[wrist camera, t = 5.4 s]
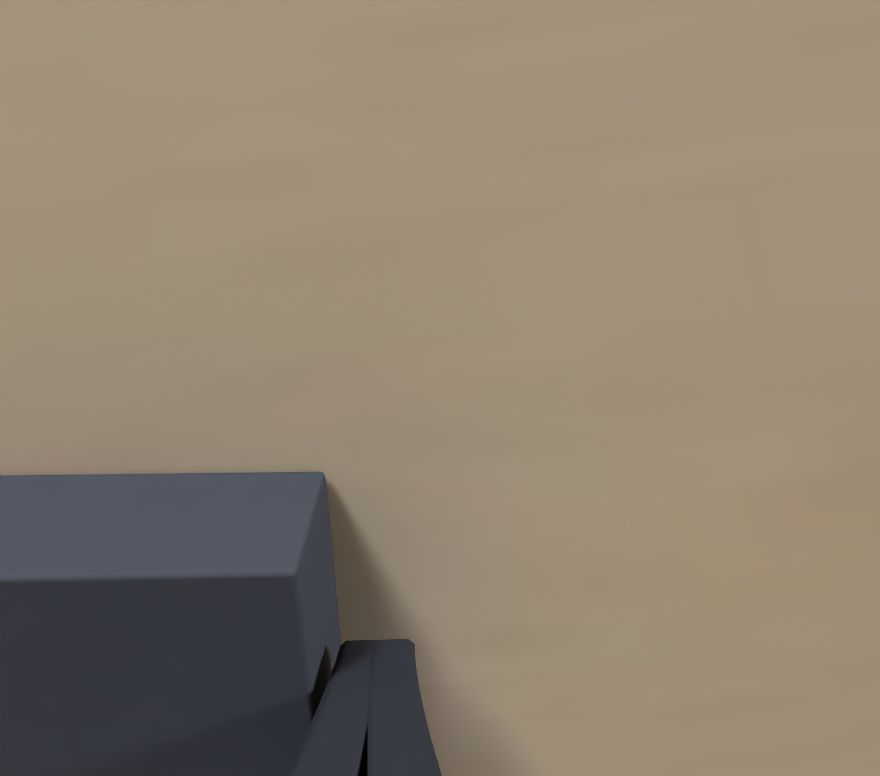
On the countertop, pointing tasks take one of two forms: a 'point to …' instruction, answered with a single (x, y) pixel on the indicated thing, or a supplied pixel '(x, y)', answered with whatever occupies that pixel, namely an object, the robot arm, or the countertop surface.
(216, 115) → the countertop surface
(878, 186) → the countertop surface
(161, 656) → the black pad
